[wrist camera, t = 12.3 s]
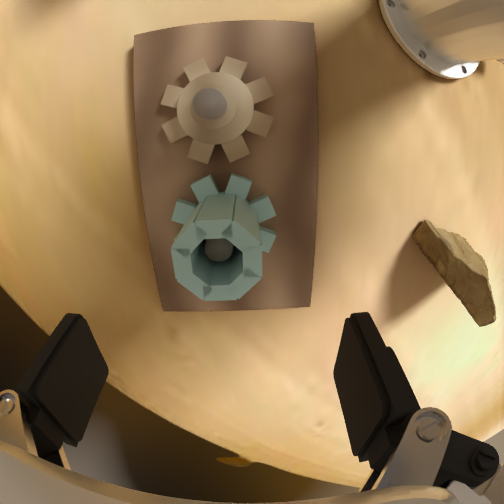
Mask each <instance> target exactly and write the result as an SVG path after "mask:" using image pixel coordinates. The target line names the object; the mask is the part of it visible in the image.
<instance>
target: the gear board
mask: <svg viewBox="0 0 504 504" xmlns="http://www.w3.org/2000/svg"><path fill="white" fill-rule="evenodd" d="M133 72H134V110H135V128H136V142H137V154H138V164H139V174H140V182H141V190H142V198H143V205H144V212H145V219H146V225H147V232H148V238H149V243H150V249H151V254H152V260H153V265H154V270H155V275H156V280H157V284H158V289H159V294H160V298H161V302H162V307H163V311H233V310H260V309H281V308H297V307H310V302H311V291H312V280H313V267H314V253H315V236H316V217H317V191H318V88H317V64H316V47H315V32H314V23H308V22H296V21H276V20H244V21H223V22H211V23H201V24H193V25H185V26H178V27H172V28H166V29H161V30H156V31H151V32H146V33H142V34H138V35H134V64H133ZM232 173H234V174H237V175H240V176H243V177H245V178H248V179H251V180H252V184H251V186H250V189H249V192H248V194H247V197H246V200H247V201H248V202H250V201H252V200H254V199H257V198H259V197H261V196H263V195H266V194H267V195H268V197H269V199H270V201H271V204H272V206H273V208H274V211H275V213H276V216H274V217H272V218H270V219H267V220H265V221H263V222H260V223H259V225H260V226H262V227H265V228H268V229H271V230H274V231H275V232H276V238H275V240H274V242H273V244H272V247H271V249H270V251H269V253H267V252H264V251H262V277H261V278H262V279H261V280H259V281H258V282H257V283H256V284H255V285H254V286H253V287H252V288H251V289H250V290H248V291H247V292H246V293H245V294H244V295H243V296H242V297H241V298H240V299H238V298H237V300H223V301H205V300H204V299H203V300H201V299H200V298H199V297H197V296H196V295H195V294H193V293H192V292H191V291H189V290H188V289H187V288H185V287H184V286H183V285H181V284H180V283H179V282H177V280H178V279H176V278H175V272H174V266H173V260H172V254H171V246H172V245H173V243H174V238H175V237H176V235H178V234H179V232H180V231H181V229H182V227H183V225H184V224H181V223H178V222H175V221H172V220H171V219H172V216H173V212H174V209H175V205H176V202H177V200H178V199H179V198H181V199H184V200H187V201H190V202H193V203H196V204H197V205H198V204H199V202H198V200H197V198H196V196H195V194H194V192H193V190H192V188H191V186H190V185H191V184H192V183H193V182H195V181H197V180H199V179H201V178H203V177H205V176H207V175H210V174H211V175H212V177H213V179H214V181H215V183H216V185H217V187H218V189H219V192H225V190H226V188H227V185H228V182H229V180H230V177H231V174H232ZM232 251H233V244H232V243H231V242H230V241H229V240H227V239H226V238H220V239H207V240H206V243H205V253H206V255H207V256H208V257H209V258H210V259H211V260H213V261H217V262H221V261H225V260H227V259H228V258H229V257H230V256H231V254H232Z"/></svg>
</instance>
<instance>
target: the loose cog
mask: <svg viewBox="0 0 504 504" xmlns="http://www.w3.org/2000/svg"><path fill="white" fill-rule="evenodd" d="M251 184H252V180H251V179H248V178H245V177H243V176H240V175H237V174H234V173H232V174H231V177H230V180H229V182H228V185H227V188H226V190H225V192H219V189H218V187H217V185H216V183H215V181H214V179H213V177H212V175H211V174H210V175H207V176H205V177H203V178H201V179H199V180H197V181H195V182H193V183H192V184H191V185H190V186H191V188H192V190H193V192H194V194H195V196H196V198H197V200H198V202H199V204H198V205H197V204H196V203H193V202H190V201H187V200H184V199H181V198H179V199H178V200H177V202H176V205H175V209H174V212H173V216H172V219H171V220H172V221H175V222H178V223H181V224H184V225H183V227H182V229H181V231H180V232H179V234H178V235H176V237H175V238H174V243H173V245H172V246H171V254H172V260H173V266H174V272H175V278H176V279H178V280H177V282H179V283H180V284H181V285H183V286H184V287H185V288H187V289H188V290H189V291H191V292H192V293H193V294H195V295H196V296H197V297H199V298H200V299H201V300H203V299H204V300H205V301H223V300H237V298H238V299H240V298H241V297H242V296H243V295H244V294H245V293H246V292H247V291H248V290H250V289H251V288H252V287H253V286H254V285H255V284H256V283H257V282H258V281H259V280H261V279H262V278H261V277H262V251H264V252H267V253H269V251H270V249H271V247H272V244H273V242H274V240H275V238H276V232H275V231H274V230H271V229H268V228H265V227H262V226H260V225H259V223H260V222H263V221H265V220H267V219H270V218H272V217H274V216H276V213H275V211H274V208H273V206H272V204H271V201H270V199H269V197H268V195H267V194H266V195H263V196H261V197H259V198H257V199H254V200H252V201H250V202H248V201H247V200H246V197H247V194H248V192H249V189H250V186H251ZM220 238H226V239H227V240H229V241H230V242H231V243H232V244H233V251H232V254H231V256H230V257H229V258H228V259H227V260H225V261H221V262H217V261H213V260H211V259H210V258H209V257H208V256H207V255H206V253H205V243H206V240H207V239H220Z"/></svg>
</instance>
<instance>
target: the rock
mask: <svg viewBox="0 0 504 504" xmlns="http://www.w3.org/2000/svg"><path fill="white" fill-rule="evenodd" d="M413 239H414V240H415V242H416V244H417V245H418V246H419V248H420V250H421V251H422V253H423V254H424V255H425V256H426V257H427V259H428V260H429V261H430V262H431V263H432V264H433V266H434V268H435V269H436V270H437V271H438V273H439V274H440V275H441V276H442V278H443V279H444V280H445V282H446V283H447V285H448V286H449V287H450V288H451V290H452V291H453V292H454V294H455V295H456V296H457V298H459V299H460V300H461V302H462V304H463V305H464V306H465V308H466V309H467V311H468V312H469V314H470V315H471V316H472V318H473V319H474V321H475V322H476V323H477V324H478V325H479V327H481V326H486V325H488V324H491V323H493V322H495V320H496V315H495V314H496V311H495V304H494V300H493V296H492V291H491V286H490V284H489V279H488V269H487V266H486V264H485V261H484V259H483V257H482V256H481V255H479V254H478V253H476V252H475V251H474V250H473V248H472V247H471V246H470V245H469V243H468V242H467V241H466V239H465V238H463V237H461V236H459V235H458V234H454V233H452V232H451V233H450V232H447V231H446V230H444V229H437V228H435V227H434V226H433V225H432V223H431V222H430V221H427V220H424V221H423V222H422V224H421V225H420V226H419V228H418V229H417V230H416V231H415V233H414V235H413Z"/></svg>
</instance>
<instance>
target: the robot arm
mask: <svg viewBox="0 0 504 504" xmlns="http://www.w3.org/2000/svg"><path fill="white" fill-rule="evenodd" d="M379 5H380V9H381V13H382V16H383V19H384V21H385V23H386V25H387V27H388V29H389V31H390V32H391V34H392V35H393V37H394V39H395V40H396V41H397V43H398V44H399V45H400V46H401V48H402V49H403V50H404V51H405V52H406V53H407V54H408V55H409V56H410V57H411V58H412V59H413V60H414V61H415V62H416V63H417V64H419V65H420V66H421V67H422V68H424V69H426V70H427V71H429V72H430V73H432V74H434V75H437V76H439V77H442V78H446V79H460V78H466V77H468V76H470V75H471V74H472V73H473V72H474V71H475V70H476V68H477V66H478V64H479V61H483V60H493V59H496V60H498V61H499V62H501V63H503V64H504V0H379ZM107 376H108V366H107V364H106V362H105V360H104V358H103V356H102V354H101V352H100V350H99V348H98V346H97V343H96V341H95V339H94V337H93V335H92V332H91V330H90V328H89V326H88V323H87V321H86V319H84V318H83V316H82V315H80V314H72V313H68V314H66V315H65V316H64V318H63V319H62V320H61V322H60V323H59V324H58V326H57V327H56V328H55V330H54V331H53V333H52V334H51V335H50V337H49V338H48V340H47V341H46V343H45V344H44V346H43V347H42V349H41V350H40V352H39V353H38V355H37V356H36V358H35V359H34V361H33V362H32V364H31V365H30V367H29V369H28V370H27V372H26V373H25V375H24V376H23V378H22V380H21V381H20V383H19V385H18V386H17V389H18V391H19V392H20V394H19V396H18V395H17V393H16V392H14V391H13V390H4V391H2V392H0V504H504V463H503V464H502V465H501V464H499V455H498V453H497V451H496V449H495V448H494V447H493V446H491V445H489V444H487V443H484V442H481V441H479V440H476V439H473V438H471V437H468V436H466V435H463V434H461V433H458V432H456V431H453V430H452V426H451V421H450V419H449V417H448V416H447V415H446V414H445V413H444V412H443V411H441V410H439V409H437V408H432V407H428V408H423V409H421V408H420V406H419V404H418V401H417V399H416V397H415V395H414V393H413V390H412V388H411V386H410V384H409V382H408V380H407V377H406V375H405V373H404V371H403V369H402V367H401V365H400V363H399V361H398V359H397V357H396V355H395V353H394V351H393V350H392V348H391V347H386V345H385V343H384V341H383V339H382V337H381V335H380V333H379V331H378V329H377V327H376V325H375V323H374V322H373V320H372V318H371V316H370V314H369V313H368V312H362V313H352V314H351V315H350V318H346V320H345V323H344V328H343V333H342V337H341V342H340V346H339V350H338V355H337V359H336V363H335V367H334V380H335V384H336V388H337V392H338V396H339V399H340V403H341V407H342V411H343V415H344V419H345V423H346V428H347V432H348V436H349V440H350V444H351V449H352V453H353V455H354V456H358V458H359V462H363V461H368V460H369V463H370V467H371V468H372V470H371V472H370V474H369V475H368V477H367V479H366V480H365V482H364V483H363V485H362V487H361V488H360V490H359V491H358V493H353V494H346V495H340V496H334V497H328V498H321V499H313V500H303V501H292V502H278V503H220V502H206V501H196V500H195V501H194V500H187V499H178V498H172V497H166V496H160V495H155V494H150V493H145V492H140V491H135V490H131V489H127V488H123V487H120V486H116V485H112V484H109V483H105V482H102V481H99V480H96V479H93V478H90V477H87V476H84V475H81V474H78V473H76V472H73V471H71V469H70V466H69V464H68V461H67V458H66V456H65V453H64V450H63V447H62V444H63V441H64V442H65V443H66V444H69V445H72V446H75V447H77V444H78V441H81V440H82V438H83V435H84V432H85V430H86V427H87V425H88V422H89V419H90V417H91V414H92V412H93V409H94V407H95V404H96V401H97V400H98V397H99V394H100V392H101V390H102V387H103V385H104V383H105V381H106V378H107Z"/></svg>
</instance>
